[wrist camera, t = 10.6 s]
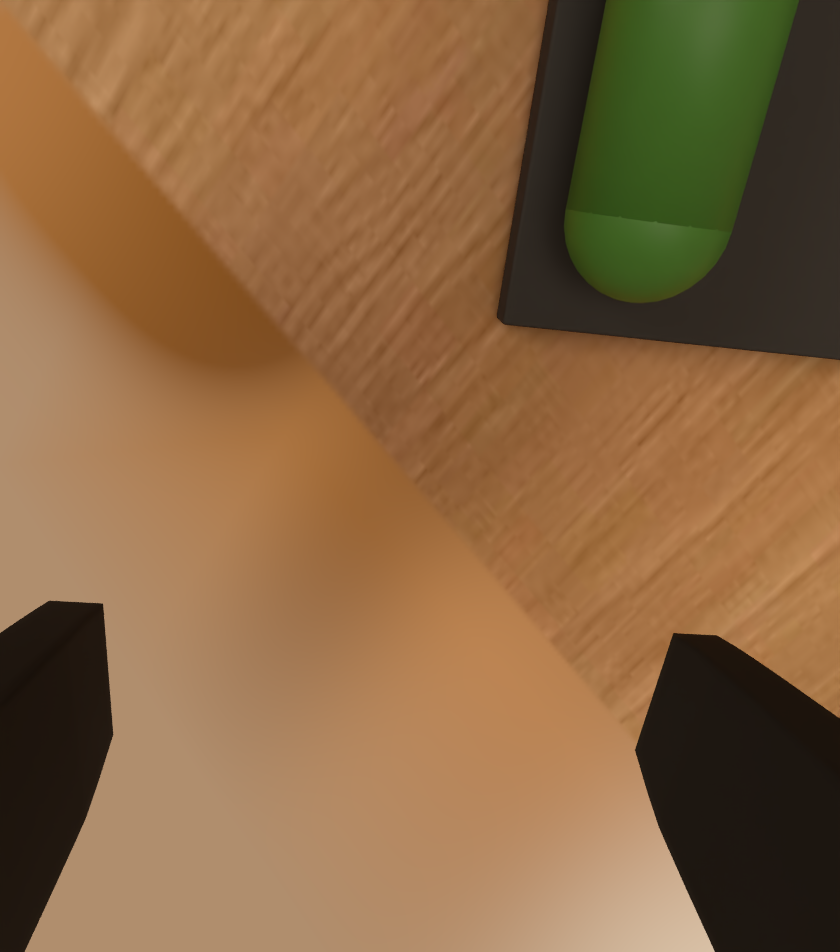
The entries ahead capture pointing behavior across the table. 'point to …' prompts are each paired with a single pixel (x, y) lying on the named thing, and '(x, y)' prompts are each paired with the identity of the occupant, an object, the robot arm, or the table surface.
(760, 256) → the mat
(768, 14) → the cucumber
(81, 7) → the table surface
